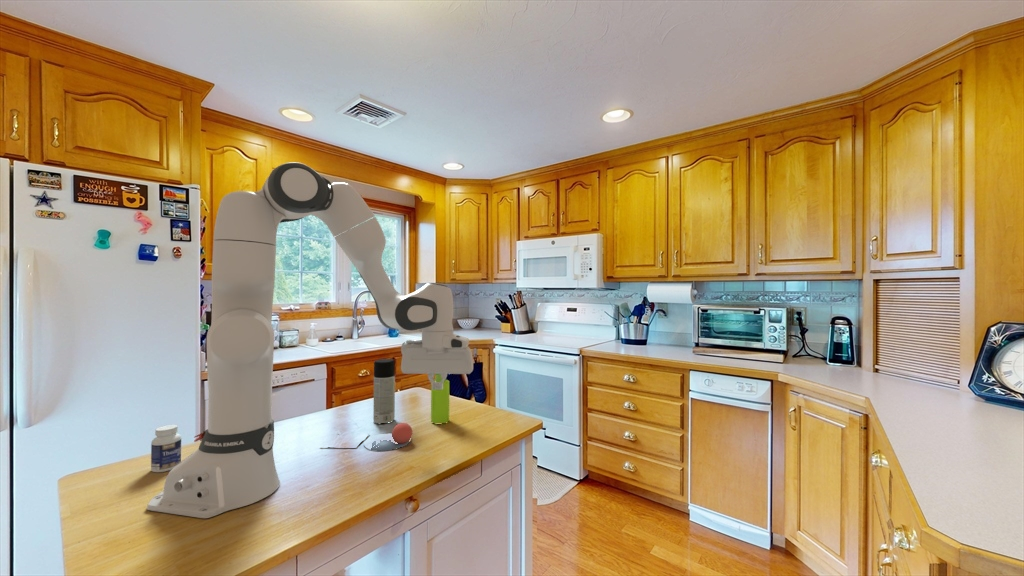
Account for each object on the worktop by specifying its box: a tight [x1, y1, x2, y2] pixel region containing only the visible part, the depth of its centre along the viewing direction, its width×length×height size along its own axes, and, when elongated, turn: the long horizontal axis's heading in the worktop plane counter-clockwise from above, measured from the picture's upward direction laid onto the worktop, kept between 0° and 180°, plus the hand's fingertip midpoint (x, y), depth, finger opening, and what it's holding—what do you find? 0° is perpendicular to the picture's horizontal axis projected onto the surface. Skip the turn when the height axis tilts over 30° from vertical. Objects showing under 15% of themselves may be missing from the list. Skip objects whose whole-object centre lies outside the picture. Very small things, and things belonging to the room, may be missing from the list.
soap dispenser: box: [430, 374, 450, 424], centre depth 126 cm, size 6×7×20 cm
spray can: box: [372, 358, 396, 424], centre depth 126 cm, size 7×7×20 cm
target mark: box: [370, 438, 413, 452], centre depth 109 cm, size 13×13×1 cm
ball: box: [391, 422, 413, 444], centre depth 108 cm, size 6×6×6 cm
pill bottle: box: [150, 424, 182, 473], centre depth 92 cm, size 5×5×10 cm
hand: (437, 389), depth 109 cm, fingers closed
